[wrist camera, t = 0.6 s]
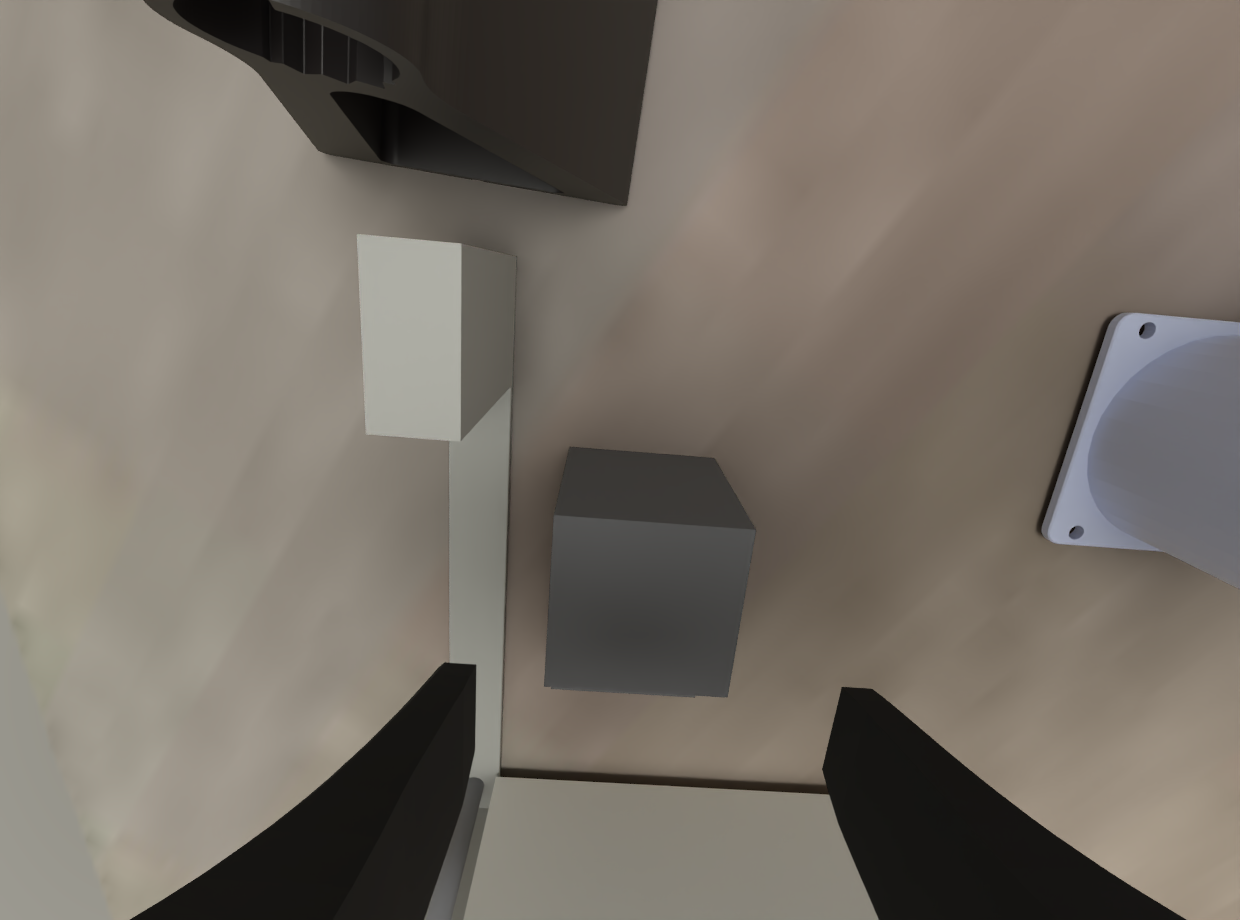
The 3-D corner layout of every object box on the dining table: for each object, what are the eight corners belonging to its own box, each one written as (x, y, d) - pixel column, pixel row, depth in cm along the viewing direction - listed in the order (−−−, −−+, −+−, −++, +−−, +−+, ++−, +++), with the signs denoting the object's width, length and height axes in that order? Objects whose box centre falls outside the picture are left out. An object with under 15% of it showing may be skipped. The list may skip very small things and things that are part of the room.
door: (840, 850, 25) (909, 1021, 19) (494, 833, 24) (458, 1004, 19) (855, 795, 24) (932, 958, 18) (495, 776, 23) (458, 938, 18)
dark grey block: (713, 457, 20) (756, 529, 14) (686, 654, 22) (712, 783, 17) (569, 446, 20) (553, 514, 14) (557, 646, 22) (539, 774, 16)
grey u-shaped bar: (516, 256, 18) (461, 243, 11) (497, 876, 26) (457, 1086, 19) (451, 250, 18) (356, 233, 11) (451, 874, 26) (395, 1084, 19)
